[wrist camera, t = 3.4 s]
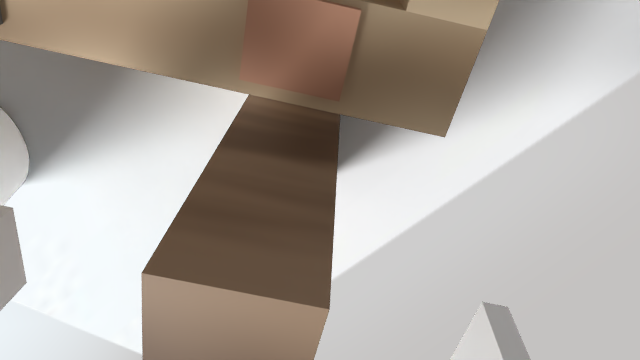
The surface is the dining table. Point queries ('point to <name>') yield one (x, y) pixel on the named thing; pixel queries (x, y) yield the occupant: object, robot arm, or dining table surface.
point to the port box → (280, 48)
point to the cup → (11, 158)
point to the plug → (250, 244)
